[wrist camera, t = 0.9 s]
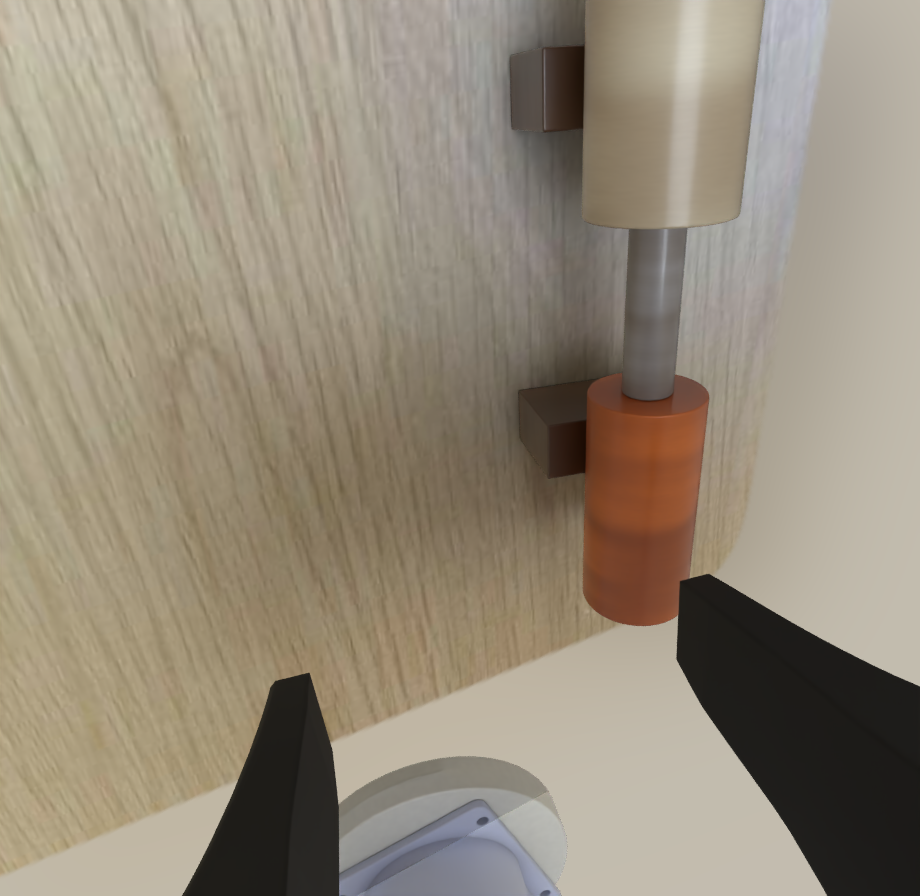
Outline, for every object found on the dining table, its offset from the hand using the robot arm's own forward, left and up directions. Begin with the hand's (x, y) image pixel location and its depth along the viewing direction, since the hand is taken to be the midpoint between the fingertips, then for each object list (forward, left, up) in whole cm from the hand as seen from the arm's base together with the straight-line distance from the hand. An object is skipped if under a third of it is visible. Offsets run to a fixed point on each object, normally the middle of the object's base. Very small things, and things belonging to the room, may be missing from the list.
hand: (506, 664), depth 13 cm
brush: (+2, -6, -6) cm, 9 cm away
